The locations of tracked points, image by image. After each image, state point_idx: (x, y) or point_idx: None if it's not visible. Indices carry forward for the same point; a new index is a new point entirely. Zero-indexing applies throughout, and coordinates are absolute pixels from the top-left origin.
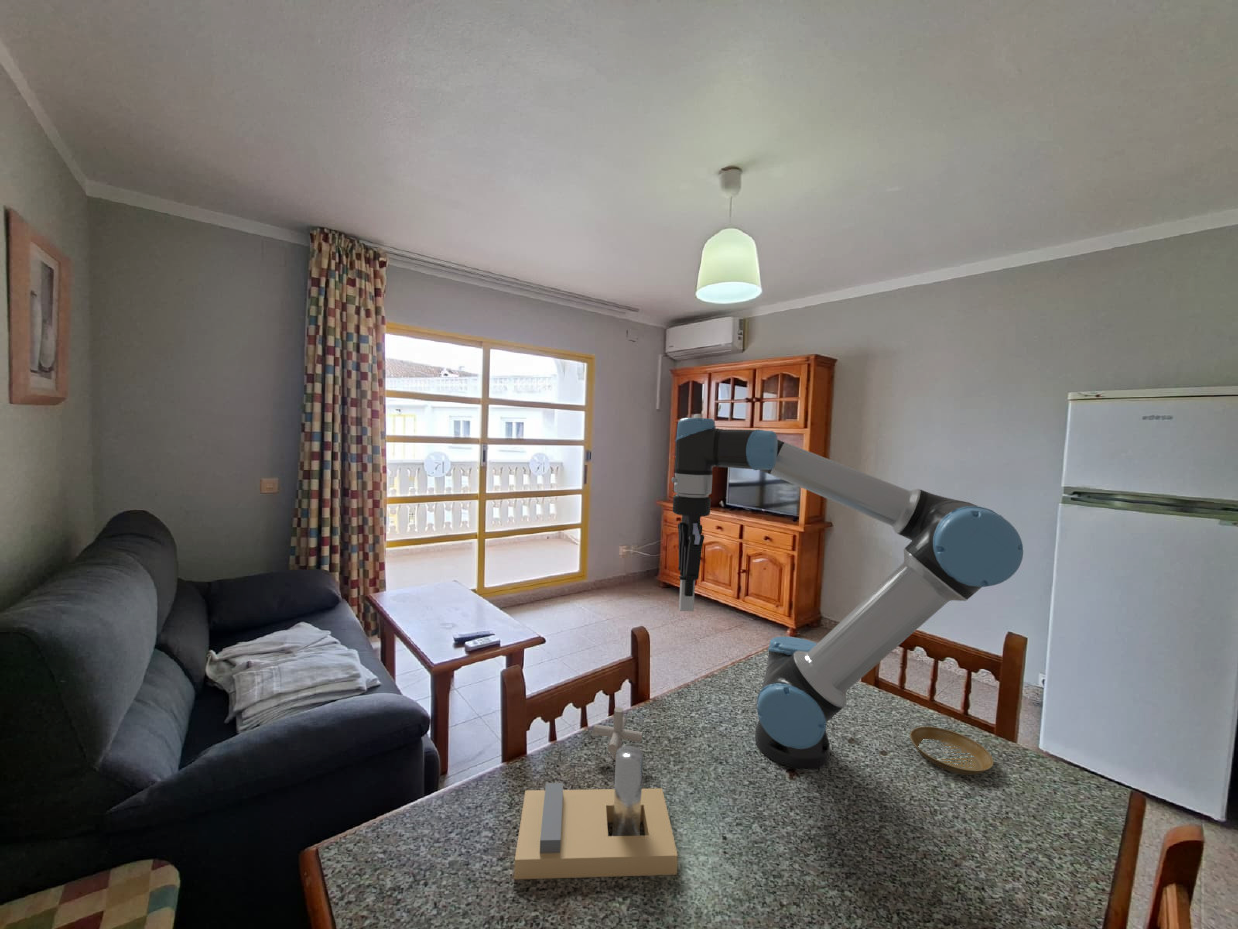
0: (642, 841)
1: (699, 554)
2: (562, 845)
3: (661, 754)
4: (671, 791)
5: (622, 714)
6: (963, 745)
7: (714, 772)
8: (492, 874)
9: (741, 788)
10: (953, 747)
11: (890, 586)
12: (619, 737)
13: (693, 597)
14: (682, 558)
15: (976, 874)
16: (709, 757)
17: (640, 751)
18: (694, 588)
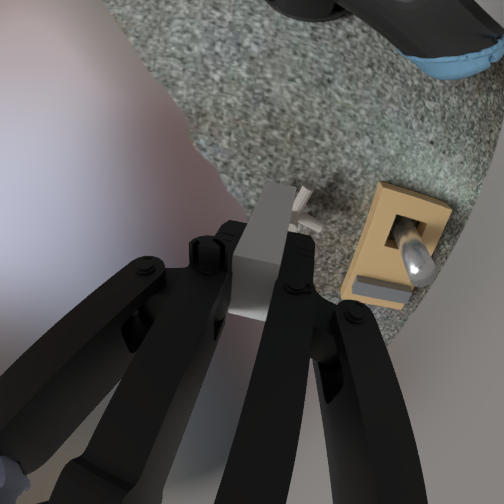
0: (430, 230)
1: (416, 488)
2: (405, 283)
3: (300, 147)
4: (364, 161)
5: (295, 223)
6: None
7: (345, 98)
8: (388, 309)
9: (378, 82)
10: None
11: None
12: (306, 216)
13: (290, 214)
14: (194, 403)
15: None
16: (316, 90)
17: (424, 263)
18: (286, 235)
